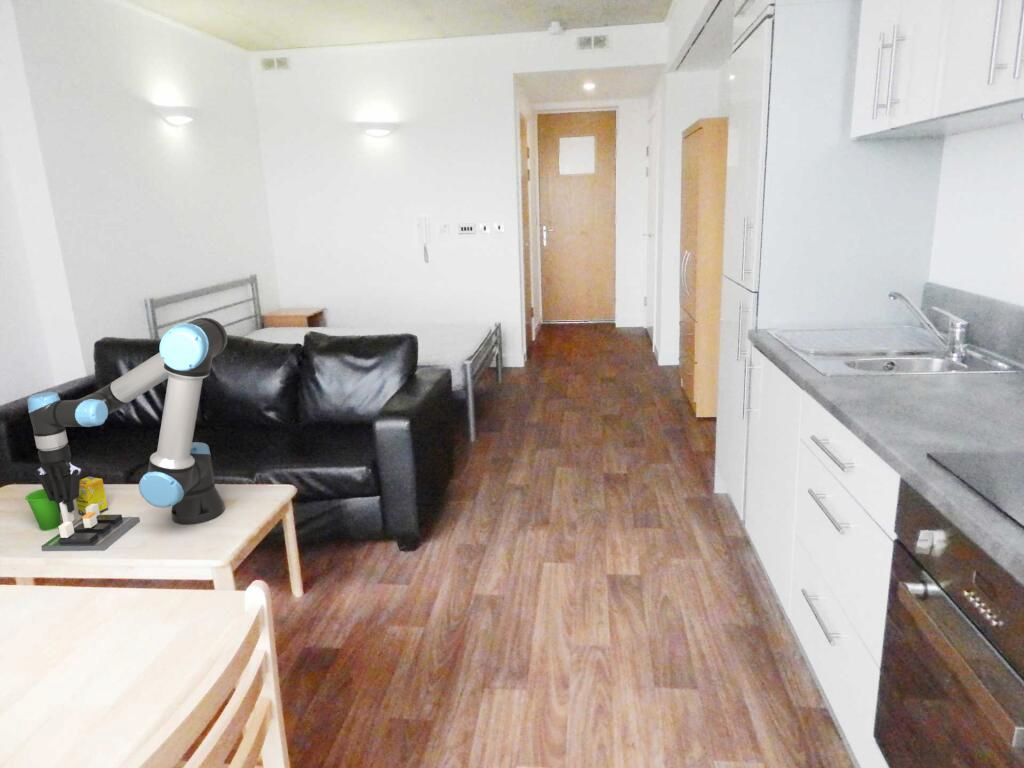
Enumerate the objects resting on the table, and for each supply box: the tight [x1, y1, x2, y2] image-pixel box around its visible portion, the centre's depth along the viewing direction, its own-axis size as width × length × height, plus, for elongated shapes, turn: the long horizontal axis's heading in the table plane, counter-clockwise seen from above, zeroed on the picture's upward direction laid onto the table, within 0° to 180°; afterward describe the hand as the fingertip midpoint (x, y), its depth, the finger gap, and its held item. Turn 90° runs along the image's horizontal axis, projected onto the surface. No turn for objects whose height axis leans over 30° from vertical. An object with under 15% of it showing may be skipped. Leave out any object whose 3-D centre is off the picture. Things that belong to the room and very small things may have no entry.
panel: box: [40, 514, 140, 552], centre depth 199 cm, size 18×18×3 cm
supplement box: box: [75, 476, 109, 516], centre depth 214 cm, size 6×6×11 cm
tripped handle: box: [81, 512, 97, 528], centre depth 198 cm, size 2×3×4 cm, turn 179°
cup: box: [25, 488, 62, 532], centre depth 205 cm, size 9×9×11 cm
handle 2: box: [85, 504, 101, 517], centre depth 204 cm, size 2×3×4 cm, turn 179°
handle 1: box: [58, 521, 74, 538], centre depth 193 cm, size 2×3×4 cm, turn 179°
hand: (69, 521), depth 199 cm, fingers closed
